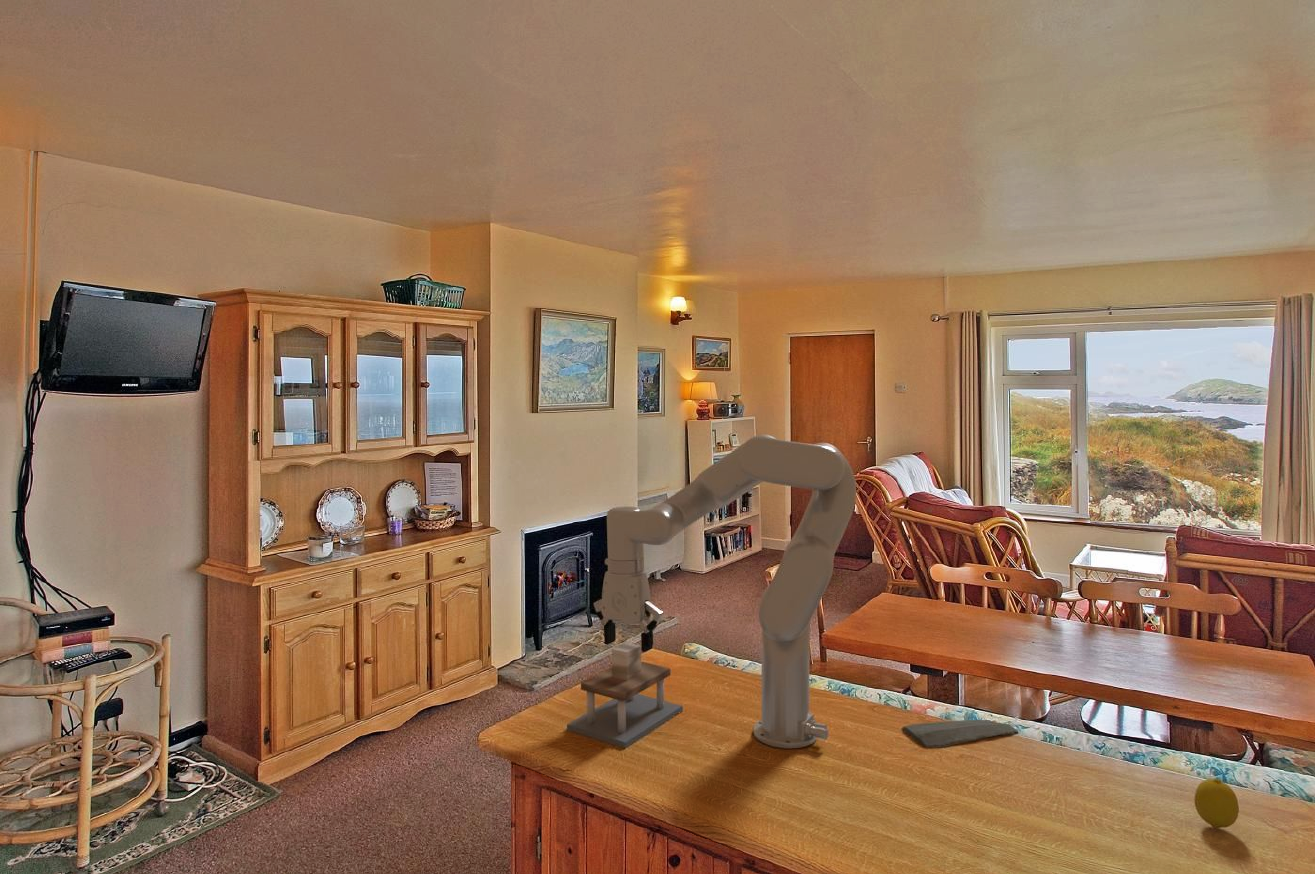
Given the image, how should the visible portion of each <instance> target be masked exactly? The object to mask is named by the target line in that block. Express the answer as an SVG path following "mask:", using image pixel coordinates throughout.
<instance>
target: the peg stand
mask: <svg viewBox="0 0 1315 874" xmlns="http://www.w3.org/2000/svg"><path fill="white" fill-rule="evenodd" d="M595 695H596V694H595V693H591V692H588V691H586V713H584V714H583V715H581V716H578V718H576V719H574V720H572V721H569V722H568V723H567V724H566V730H567V731H569V732H572V733H576V734H579V735H582V736H585V737H589V738H592V739H594V740H597V741H599V742H600V741H601V742H604V743H607V744H610V745H613V746H617V747H619V748H623V749H627V748H628V747H630V746H632V745H633V744H635V743H636V742H637V741H640V740H641V739H643V738H644V737H645V736H647V735H648V734H650V733H652V732H653V731H655V730H656V729H658V728H659V727H661V726H662V725H664V724H665V723H667V722H668V721H670V720H671V719H673V718H674V717H673V716H675V715H676V714H678V713H679V712H681V713H682V712H683V711H684V710H683V706H684V705H680V704H678V703H674V702H669V701H666V700H665V679H663V680H661V681H659V682H657V683H656V698H654V697H650V696H647V695H643V694H640V693H638V694H636V695H634V696H633V697H631V698H629V699H627V700H626V701H620V700H617V699H613V698H611V699H610V700H608V701H607V702H605V703H602V704H601V705H599V706H597V707H595V706H596V705H595V704H596V702H595V700H596V699H595ZM679 714H680V713H679ZM679 714H678V715H679ZM676 716H677V715H676ZM676 716H675V717H676ZM672 717H673V718H672ZM670 718H671V719H670ZM669 719H670V720H669ZM667 720H668V721H667ZM666 721H667V722H666ZM663 723H664V724H663ZM655 728H656V729H655ZM654 729H655V730H654ZM651 731H652V732H651Z"/></svg>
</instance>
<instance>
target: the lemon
mask: <svg viewBox="0 0 1315 874" xmlns="http://www.w3.org/2000/svg"><path fill="white" fill-rule="evenodd" d="M1193 799H1194V807H1195V809H1196V812H1197V814H1198V815H1199V817H1200V818H1201V819H1202V820H1203V821H1204V822H1205V823H1207V825H1208V824H1209V825H1210V826H1211V827H1212V828H1213V829H1215V830H1220V829H1221V828H1229V827H1231V826H1233V824H1235V823H1236V821H1237V819H1238V817H1239V812H1240V811H1239V810H1240V809H1239V808H1240V807H1239V802H1238V801H1239V800H1238V798H1237V795H1236V793H1235V790H1233V789H1232V788H1231V787H1230V786H1229V785H1228V784H1227V783H1225V782H1223V781H1221V779H1219V778H1213V779H1212V778H1210V779H1205V780H1203V781H1202V782H1200V783H1199V784H1198V785H1197V787H1196V790H1195V792H1194V797H1193Z"/></svg>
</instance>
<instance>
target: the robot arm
mask: <svg viewBox="0 0 1315 874" xmlns="http://www.w3.org/2000/svg"><path fill="white" fill-rule="evenodd" d="M854 474H855V473H854V471H853V469H852V467H851V465H850V463H849V461H848V460H847V459H846V457H845V456H844V454H843V452H841V451H840V450H839V448H837V447H836V446H834V445H833V444H831V443H828V442H817V443H813V444H812V443H807V442H806V443H805V442H804V443H803V442H797V441H791V440H785V439H784V440H783V439H778V438H776V437H774V436H772V435H770V434H765V433H763V434H761V433H760V434H756V435H755V436H753V437H750V438H749V439H747V440H746V441H745V442H744V443H742V444H741V445H739V446H738V447H736V448H735V449H733V451H731V452H729V453H728V454H726V455H725V456H723V457H721V458H720V459H719V460H718V461H716V462H714V463H713V464H712V465H710V466H708V467H707V468H705V469H704V470H703V471H701V472H700V473H699V474H698V475H697V476H696V478H694V480H693V481H691V482H689V484H686V485H685V486H684V487H683V488H682V489H680V490H679V491H677V492H675V493H674V494H672V495H671V496H670V497H669V498H667V499H666V500H664V501H662V502H661V503H659V504H658V505H656V506H654V507H652V508H649V509H646V510H645V509H643V510H642V509H640V508H638V507H635V506H618V507H617V506H616V507H612V508H611V509H609V510H608V511H607V514H606V533H607V534H606V536H607V537H606V538H607V557H606V558H605V559H604V565H606V566H607V570H608V571H605V573H604V577H603V584H602V592H601V598H600V599H598V600H597V601H595V602H593V606H594V609H595V612H596V616H597V618H598V619H599V620H600V624H601V626H603V638H604V641H603V643H604V645H610V644H612V643H615V642H616V639H617V637H616V635H617V633H616V622H619V623H620V622H621V623H626V624H631V625H635V624H638V625H639V627H640V629H642V632H641V634H640V641H641V645H640V646H641V653H642V652H643V653H646V652H648V651H650V650H652V649H653V645H654V631H655V630H656V628H657V627H658V625H660V622H661V619H662V617H663V616H664V613H663V611H662V610H661V609H660V608H658V607H657V606H656V605H654V604H653V603H652V600H651V591H650V589H651V588H650V585H649V583H650V582H649V580H648V575H647V572H646V571H645V563H644V562H645V558H644V556H645V555H644V554H645V553H644V552H645V551H644V545H650V546H663V545H666V544H668V543H669V542H670V541H671V540H673V539H674V537H676V536H677V535H678V534H680V533H681V532H683V531H684V530H686V529H687V528H688V527H689V526H691V525H693V524H694V523H696V522H697V521H699V520H700V519H702V518H703V517H705V516H706V515H708V514H710V513H712V512H714V511H716V510H720V509H723V508H725V507H726V506H728V505H730V504H732V503H733V502H734V501H736V500H737V499H739V498H740V497H741V496H744V495H745V494H746V493H747V492H749V491H750V490H752V489H754V488H756V486H759V485H760V484H762V483H763V482H764V483H770V484H774V485H779V486H780V485H781V486H786V487H787V486H788V487H793V488H797V489H798V488H799V489H807V490H812V493H811V497H810V500H809V501H808V505H807V507H806V509H805V511H804V514H803V516H802V519H801V521H800V522H799V523H798V527H797V529H796V531H795V532H794V534H793V536H792V538H791V539H790V540H789V542H788V544H787V545H786V547H785V550H784V552H783V555H782V558H781V560H780V563H779V565H778V567H777V569H776V572H775V573H774V576H773V578H772V580H771V582H770V584H769V585H767V587H766V588H765V590H764V591H763V594H762V597H761V599H760V602H759V603H760V604H759V607H758V611H757V615H758V616H757V617H758V623H759V625H760V627H761V702H760V703H761V704H760V705H761V719H760V720H758V721H757V722H756V723H754V725H753V735H754V736H755V738H756V739H757V740H758V741H760V742H761V743H763V744H765V745H767V746H770V747H775V748H780V749H801V748H804V747H809V746H810V745H812V744H814V743H815V742H816V741H817V739H821V740H827V739H828V737H829V729H827V727H828V726H827V724H824V723H818V722H816V720H815V713H811V712H810V661H811V660H810V657H811V656H810V654H811V651H810V649H811V648H810V645H811V644H810V643H811V642H810V641H811V640H810V639H811V638H810V636H811V620H812V618H813V616H814V615H815V612H816V610H817V608H818V606H819V604H820V602H821V600H822V598H823V596H824V594H825V592H826V589H827V587H828V585H829V583H830V581H831V578H832V576H833V573H834V565H835V564H834V560H835V559H834V558H835V554H836V552H837V550H838V547H839V546H840V543H841V541H842V539H843V536H844V534H845V533H846V530H847V527H848V526H849V525H848V524H849V522H850V521H851V518H852V515H853V512H854V509H855V507H856V506H855V504H856V502H857V485H856V477H855V475H854ZM651 616H653V617H652V618H651ZM614 621H615V622H614Z"/></svg>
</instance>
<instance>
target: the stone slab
mask: <svg viewBox="0 0 1315 874" xmlns="http://www.w3.org/2000/svg"><path fill="white" fill-rule="evenodd" d="M901 730H902V732H903V733H905V734H906V735H907V736H909V737H910V738H912V739H913V740H915V741H916V742H917V743H919V744H920V743H921V746H923V747H924V748H925V749H944V748H947V747H951V746H955V745H957V744H962V743H966V742H973V741H975V740H981V739H985V738H986V739H987V738H991V737H996V736H1000V735H1001V736H1004V735H1014V734H1017V733H1019V731H1018V730H1017V728H1015V727H1013V726H1012V725H1011V724H1008V723H1001V722H997V721H992V720H991V721H990V720H989V721H988V720H982V719H972V720H948V721H936V722H921V723H914V724H908V725H904V726H902V727H901Z"/></svg>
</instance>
